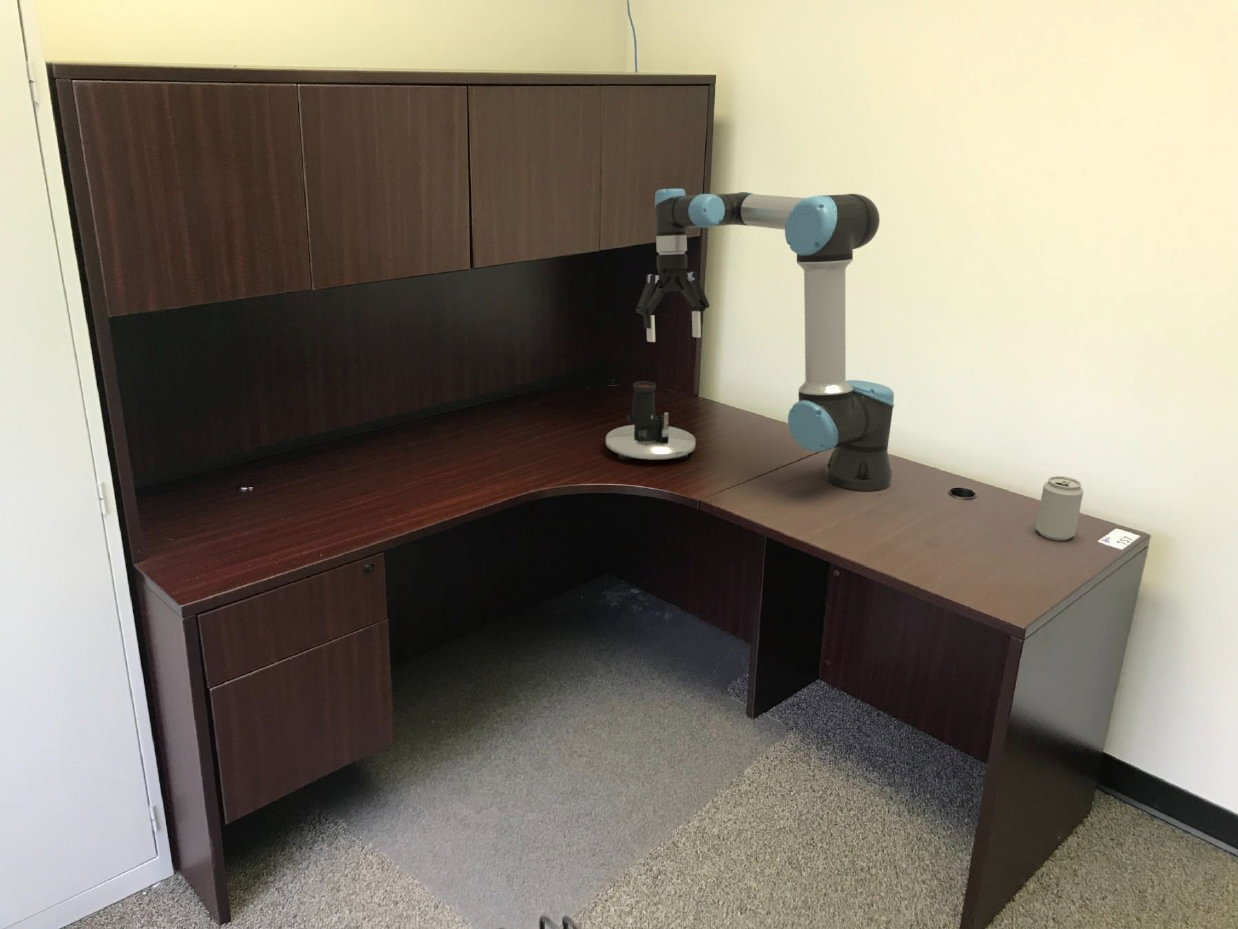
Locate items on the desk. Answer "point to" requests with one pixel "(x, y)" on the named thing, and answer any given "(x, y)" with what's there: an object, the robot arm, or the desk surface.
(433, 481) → the desk surface
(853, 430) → the robot arm
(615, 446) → the base
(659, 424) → the scope
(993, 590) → the desk surface
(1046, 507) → the can
